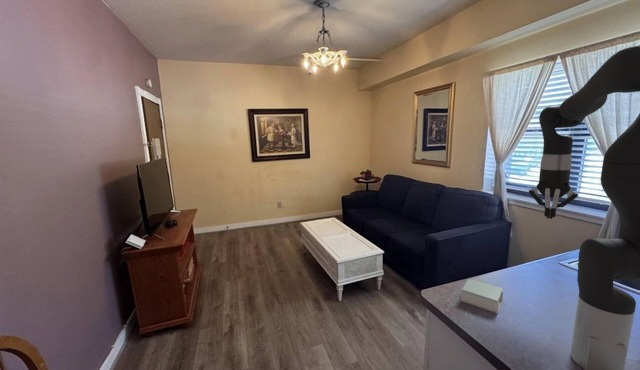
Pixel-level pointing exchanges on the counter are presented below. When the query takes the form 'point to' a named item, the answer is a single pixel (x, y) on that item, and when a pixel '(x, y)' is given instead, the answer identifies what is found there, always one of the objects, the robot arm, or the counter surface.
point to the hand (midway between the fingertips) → (549, 218)
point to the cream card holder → (482, 302)
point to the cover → (482, 290)
